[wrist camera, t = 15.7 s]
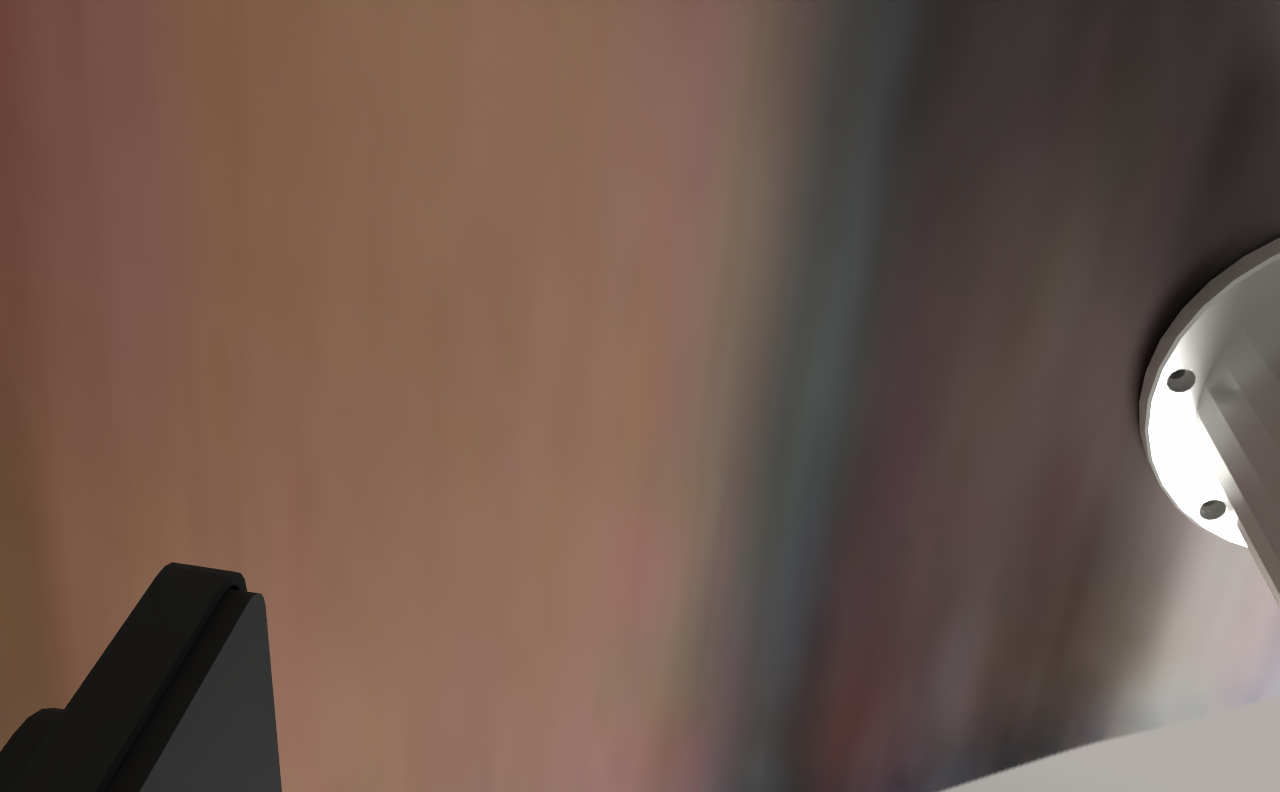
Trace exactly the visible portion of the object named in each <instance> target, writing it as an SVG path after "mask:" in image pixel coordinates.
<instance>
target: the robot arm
mask: <svg viewBox="0 0 1280 792" xmlns="http://www.w3.org/2000/svg"><path fill="white" fill-rule="evenodd" d="M1176 370H1177V371H1176ZM1139 423H1140V435H1141V438H1142V442H1143V446H1144V449H1145V453H1146V457H1147V460H1148V462H1149V464H1150V466H1151V468H1152V470H1153V472H1154V474H1155V476H1156V478H1157V480H1158V483H1159V485H1160V486H1161V488H1162V489H1163V490H1164V492H1165V493H1166V494H1167V496H1168V497H1169V498H1170V500H1171V501H1172V502H1173V504H1174V505H1175V506H1176V508H1177V509H1179V510H1180V511H1181V512H1182V513H1183V514H1184V515H1185V516H1186V517H1188V518H1189V519H1190V520H1191V521H1192V522H1193V523H1195V524H1196V525H1197V526H1199V527H1201V528H1203V529H1204V530H1206V531H1208V532H1210V533H1212V534H1214V535H1216V536H1218V537H1219V538H1221V539H1223V540H1225V541H1227V542H1230V543H1234V544H1237V545H1240V546H1243V547H1246V548H1249V550H1250V552H1251V554H1252V556H1253V558H1254V560H1255V562H1256V564H1257V566H1258V567H1259V569H1260V571H1261V573H1262V575H1263V577H1264V579H1265V581H1266V583H1267V584H1268V586H1269V588H1270V590H1271V592H1272V594H1273V596H1274V598H1275V600H1276V601H1277V603H1278V605H1279V607H1280V238H1278V239H1276V240H1274V241H1272V242H1270V243H1269V244H1267V245H1265V246H1263V247H1261V248H1259V249H1257V250H1255V251H1253V252H1251V253H1250V254H1248V255H1246V256H1244V257H1242V258H1241V259H1240V260H1238V261H1237V262H1236V263H1234V264H1233V265H1231V266H1230V267H1229V268H1227V269H1226V270H1225V271H1223V272H1222V273H1221V274H1219V275H1218V276H1216V277H1215V278H1214V279H1212V280H1211V281H1210V282H1209V283H1208V284H1207V285H1206V286H1205V287H1204V288H1203V289H1202V290H1201V291H1200V292H1199V293H1198V294H1197V295H1196V296H1195V297H1194V298H1193V299H1192V300H1191V301H1190V302H1189V303H1188V304H1187V305H1186V306H1185V307H1184V308H1183V309H1182V310H1181V311H1180V313H1179V314H1178V315H1177V317H1176V318H1175V320H1174V321H1173V322H1172V324H1171V325H1170V327H1169V328H1168V330H1167V331H1166V332H1165V334H1164V335H1163V337H1162V338H1161V339H1160V341H1159V344H1158V346H1157V348H1156V350H1155V352H1154V355H1153V357H1152V359H1151V361H1150V363H1149V366H1148V368H1147V370H1146V373H1145V378H1144V382H1143V387H1142V391H1141V396H1140V400H1139ZM0 792H282V788H281V777H280V765H279V754H278V743H277V731H276V720H275V709H274V697H273V686H272V675H271V663H270V652H269V641H268V629H267V618H266V607H265V601H264V598H263V596H262V594H259V593H252V592H247V588H246V584H245V579H244V578H243V576H242V574H241V573H238V572H232V571H226V570H219V569H213V568H206V567H200V566H193V565H186V564H180V563H173V562H172V563H170V564H168V565H166V566H165V567H164V568H163V569H162V570H161V571H160V572H159V574H158V575H157V576H156V578H155V579H154V581H153V582H152V583H151V585H150V586H149V588H148V589H147V591H146V592H145V594H144V595H143V596H142V598H141V599H140V601H139V602H138V604H137V605H136V607H135V608H134V609H133V611H132V612H131V614H130V615H129V617H128V618H127V620H126V621H125V622H124V624H123V625H122V627H121V628H120V630H119V631H118V632H117V634H116V635H115V637H114V638H113V640H112V641H111V643H110V644H109V645H108V647H107V648H106V650H105V651H104V653H103V654H102V656H101V657H100V658H99V660H98V661H97V663H96V664H95V666H94V667H93V669H92V670H91V671H90V673H89V674H88V676H87V677H86V679H85V680H84V682H83V683H82V684H81V686H80V687H79V689H78V690H77V692H76V693H75V695H74V696H73V697H72V699H71V700H70V702H69V703H68V705H67V706H66V708H65V709H57V708H47V709H41V710H39V711H38V712H36V713H35V714H33V715H32V716H30V717H28V718H27V719H26V720H25V722H24V723H23V724H22V725H21V726H20V727H19V728H18V729H17V731H16V732H15V733H14V734H13V735H12V737H11V738H10V739H9V741H8V742H7V744H6V745H5V746H4V748H3V749H2V750H1V752H0Z"/></svg>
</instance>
